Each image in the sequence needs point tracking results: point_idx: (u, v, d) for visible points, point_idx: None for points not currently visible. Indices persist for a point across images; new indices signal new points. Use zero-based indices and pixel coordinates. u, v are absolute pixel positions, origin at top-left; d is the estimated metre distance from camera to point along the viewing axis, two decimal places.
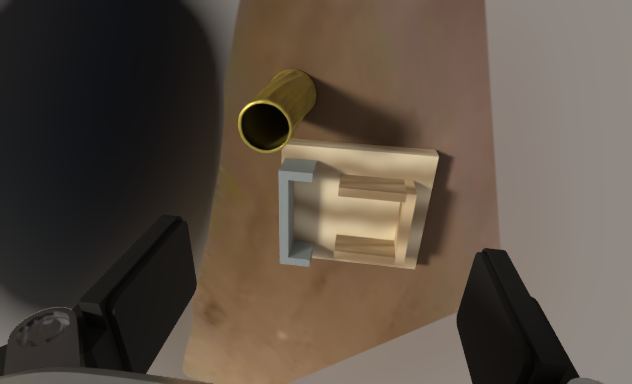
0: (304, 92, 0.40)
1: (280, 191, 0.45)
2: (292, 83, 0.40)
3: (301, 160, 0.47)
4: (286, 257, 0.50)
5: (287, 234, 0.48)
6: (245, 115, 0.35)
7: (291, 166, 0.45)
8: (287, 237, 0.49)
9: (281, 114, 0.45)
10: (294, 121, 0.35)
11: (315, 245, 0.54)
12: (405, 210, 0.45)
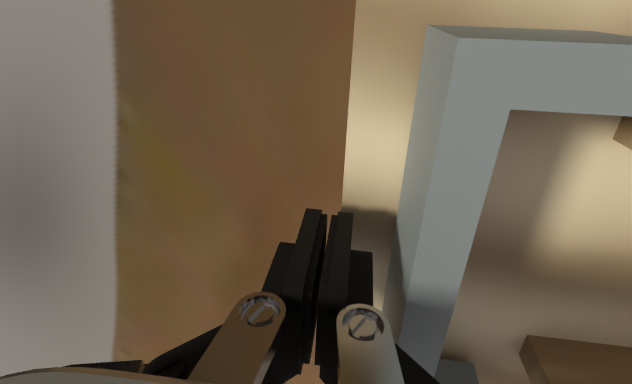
0: None
1: (439, 184, 0.08)
2: None
3: (517, 28, 0.09)
4: None
5: None
6: None
7: (508, 33, 0.08)
8: None
9: None
10: None
11: None
12: None
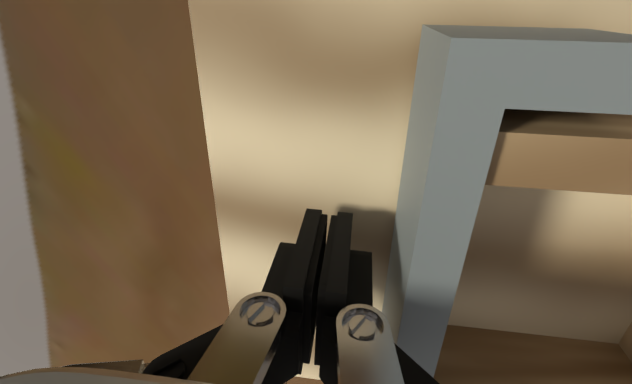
0: None
1: (435, 184, 0.08)
2: None
3: (513, 27, 0.09)
4: None
5: None
6: None
7: (502, 33, 0.08)
8: None
9: None
10: None
11: None
12: None
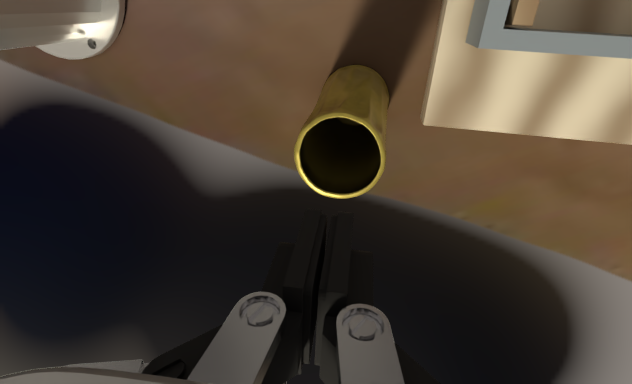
0: (333, 83, 0.27)
1: (526, 48, 0.23)
2: (319, 101, 0.27)
3: (474, 8, 0.25)
4: None
5: None
6: (328, 182, 0.22)
7: (477, 24, 0.24)
8: None
9: None
10: (338, 106, 0.20)
11: None
12: None
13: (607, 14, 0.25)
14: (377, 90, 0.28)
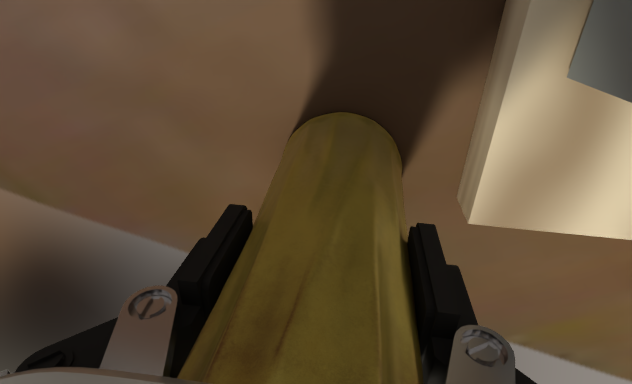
0: (293, 168, 0.13)
1: None
2: (266, 202, 0.13)
3: (597, 7, 0.11)
4: None
5: None
6: None
7: (627, 45, 0.10)
8: None
9: None
10: (279, 335, 0.06)
11: None
12: None
13: None
14: (384, 176, 0.14)
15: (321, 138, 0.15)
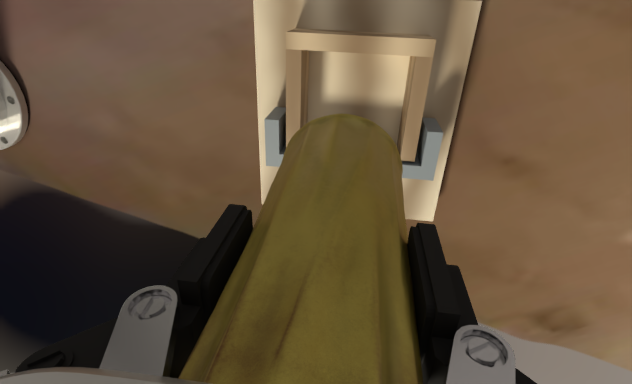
0: (293, 170, 0.13)
1: None
2: (266, 203, 0.13)
3: None
4: (421, 169, 0.30)
5: None
6: None
7: None
8: None
9: None
10: (279, 338, 0.06)
11: None
12: (316, 48, 0.27)
13: None
14: (385, 177, 0.14)
15: (321, 140, 0.15)
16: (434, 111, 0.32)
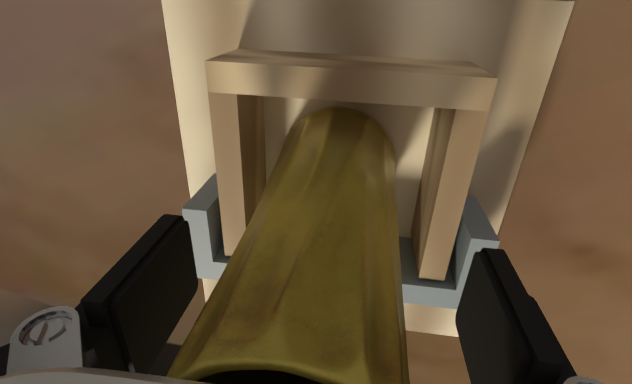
0: (290, 159, 0.14)
1: None
2: (265, 191, 0.14)
3: None
4: (455, 294, 0.17)
5: None
6: None
7: None
8: None
9: None
10: (277, 297, 0.07)
11: None
12: (263, 91, 0.14)
13: None
14: (377, 167, 0.14)
15: (318, 132, 0.16)
16: (474, 186, 0.19)
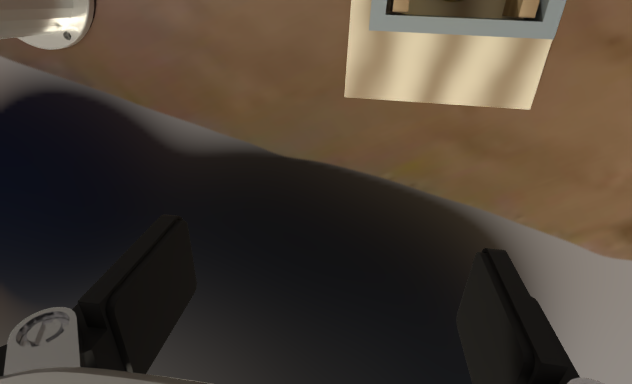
0: None
1: (404, 29, 0.29)
2: None
3: None
4: (542, 25, 0.28)
5: (490, 21, 0.28)
6: None
7: None
8: (496, 21, 0.28)
9: None
10: None
11: (520, 53, 0.33)
12: None
13: (475, 2, 0.31)
14: None
15: None
16: None
